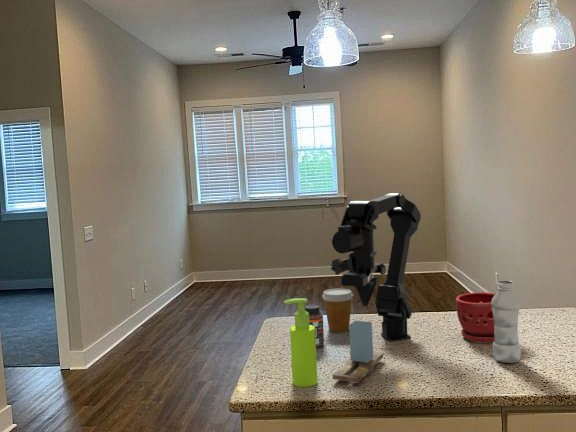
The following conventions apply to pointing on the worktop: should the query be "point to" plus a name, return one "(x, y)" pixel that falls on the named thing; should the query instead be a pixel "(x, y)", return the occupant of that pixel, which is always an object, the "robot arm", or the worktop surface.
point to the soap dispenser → (303, 347)
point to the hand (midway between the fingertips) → (365, 305)
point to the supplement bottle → (316, 323)
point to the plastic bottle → (505, 323)
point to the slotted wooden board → (357, 369)
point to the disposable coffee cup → (338, 309)
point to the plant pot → (476, 316)
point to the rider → (361, 341)
